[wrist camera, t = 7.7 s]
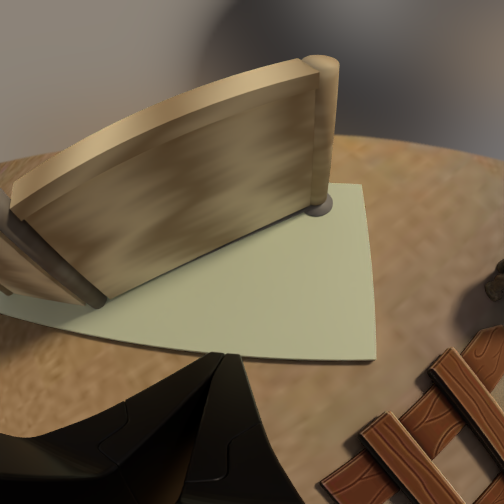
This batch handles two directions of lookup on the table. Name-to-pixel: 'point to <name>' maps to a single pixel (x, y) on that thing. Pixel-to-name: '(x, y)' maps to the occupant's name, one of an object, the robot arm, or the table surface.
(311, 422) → the table surface
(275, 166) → the hinged fence panel
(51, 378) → the table surface
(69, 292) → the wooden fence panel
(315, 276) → the card
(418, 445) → the decorative fence
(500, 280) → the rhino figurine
